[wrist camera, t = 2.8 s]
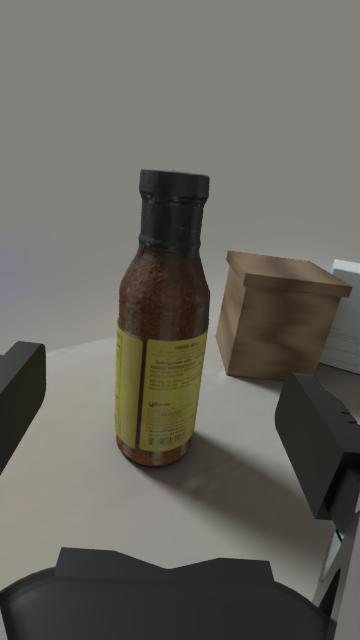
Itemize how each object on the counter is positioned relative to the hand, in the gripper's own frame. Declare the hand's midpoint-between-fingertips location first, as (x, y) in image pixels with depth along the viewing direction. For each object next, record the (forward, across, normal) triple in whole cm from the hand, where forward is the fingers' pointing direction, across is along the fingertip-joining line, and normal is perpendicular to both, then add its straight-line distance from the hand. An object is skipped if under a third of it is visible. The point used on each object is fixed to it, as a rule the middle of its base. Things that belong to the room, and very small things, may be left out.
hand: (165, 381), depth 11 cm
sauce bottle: (+12, 0, +13) cm, 18 cm away
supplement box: (+30, -25, +13) cm, 41 cm away
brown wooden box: (+28, -13, +13) cm, 33 cm away
